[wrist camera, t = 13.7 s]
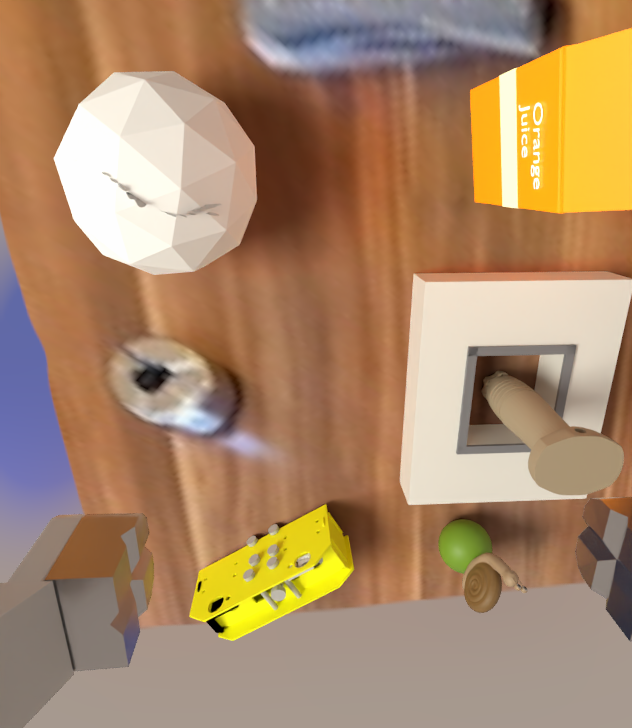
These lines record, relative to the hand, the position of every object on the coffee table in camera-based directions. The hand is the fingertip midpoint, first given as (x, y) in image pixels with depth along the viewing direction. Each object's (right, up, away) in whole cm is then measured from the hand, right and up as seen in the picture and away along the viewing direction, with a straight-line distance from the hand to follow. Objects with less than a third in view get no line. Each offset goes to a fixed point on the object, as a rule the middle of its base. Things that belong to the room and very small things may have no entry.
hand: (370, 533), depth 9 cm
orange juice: (+16, +22, +33) cm, 42 cm away
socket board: (+17, +1, +40) cm, 44 cm away
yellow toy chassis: (-6, -17, +46) cm, 50 cm away
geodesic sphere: (-12, +18, +32) cm, 39 cm away
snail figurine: (+15, -15, +46) cm, 51 cm away
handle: (+17, +1, +40) cm, 44 cm away
